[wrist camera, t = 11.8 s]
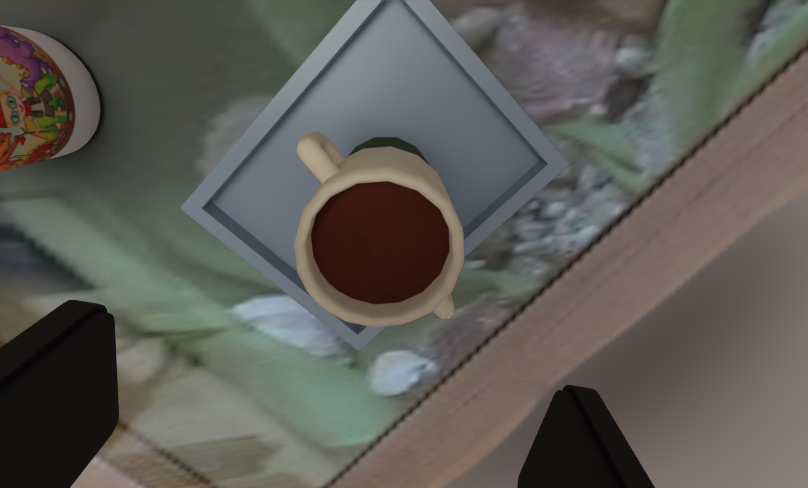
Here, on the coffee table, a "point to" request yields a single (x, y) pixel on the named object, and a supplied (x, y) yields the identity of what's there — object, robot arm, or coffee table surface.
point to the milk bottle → (42, 99)
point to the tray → (376, 117)
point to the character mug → (377, 233)
